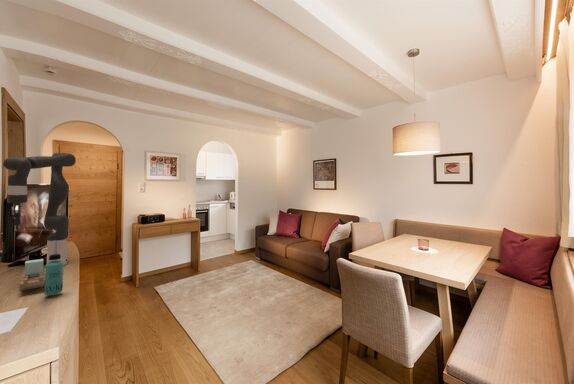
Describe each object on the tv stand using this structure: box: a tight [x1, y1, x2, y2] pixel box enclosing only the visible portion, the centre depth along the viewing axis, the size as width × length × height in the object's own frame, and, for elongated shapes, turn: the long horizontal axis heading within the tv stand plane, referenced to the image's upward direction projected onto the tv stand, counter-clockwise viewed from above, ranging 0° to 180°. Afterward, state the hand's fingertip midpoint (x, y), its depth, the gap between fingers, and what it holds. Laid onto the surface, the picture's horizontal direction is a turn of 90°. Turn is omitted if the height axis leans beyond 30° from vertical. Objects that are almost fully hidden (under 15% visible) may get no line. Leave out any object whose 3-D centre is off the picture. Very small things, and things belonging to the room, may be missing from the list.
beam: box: [19, 267, 46, 292], centre depth 126 cm, size 24×10×8 cm, turn 45°
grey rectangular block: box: [24, 258, 44, 277], centre depth 125 cm, size 5×6×8 cm
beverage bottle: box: [43, 254, 64, 296], centre depth 117 cm, size 6×7×20 cm
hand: (17, 225), depth 134 cm, fingers closed
